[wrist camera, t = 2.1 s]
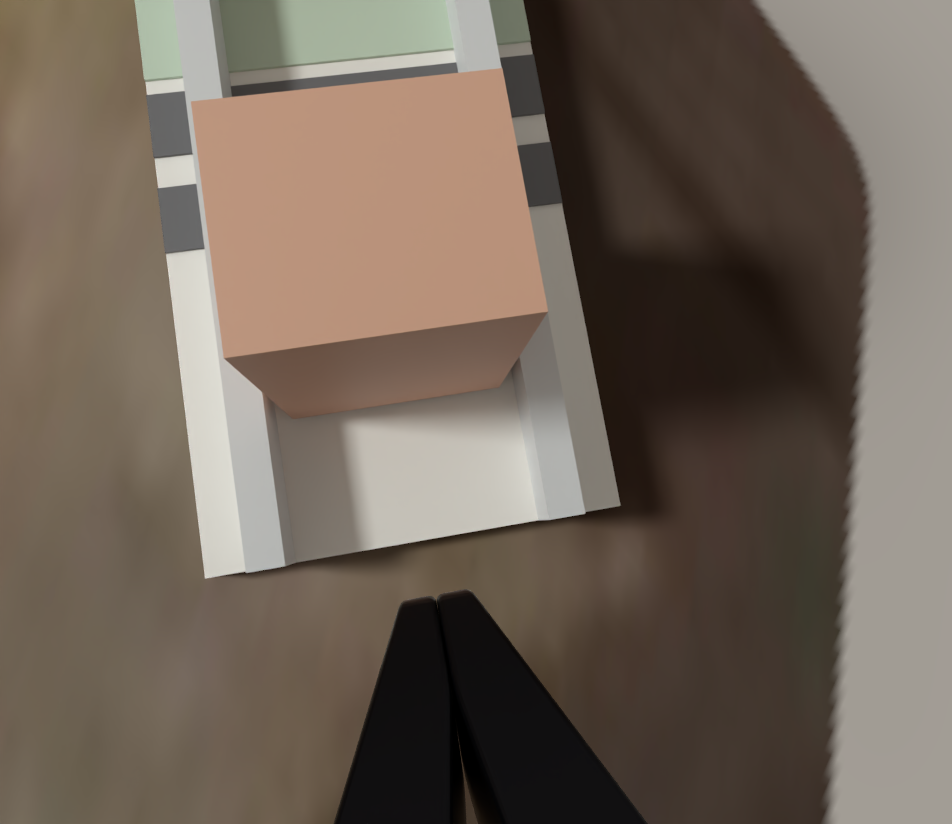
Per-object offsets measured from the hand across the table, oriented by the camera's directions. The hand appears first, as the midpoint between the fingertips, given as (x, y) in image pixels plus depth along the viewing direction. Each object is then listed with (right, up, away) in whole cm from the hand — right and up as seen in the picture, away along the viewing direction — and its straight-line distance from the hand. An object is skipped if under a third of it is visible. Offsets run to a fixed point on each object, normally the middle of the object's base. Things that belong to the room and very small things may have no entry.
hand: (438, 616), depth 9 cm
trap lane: (-3, +9, +15) cm, 18 cm away
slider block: (-2, +5, +13) cm, 14 cm away
